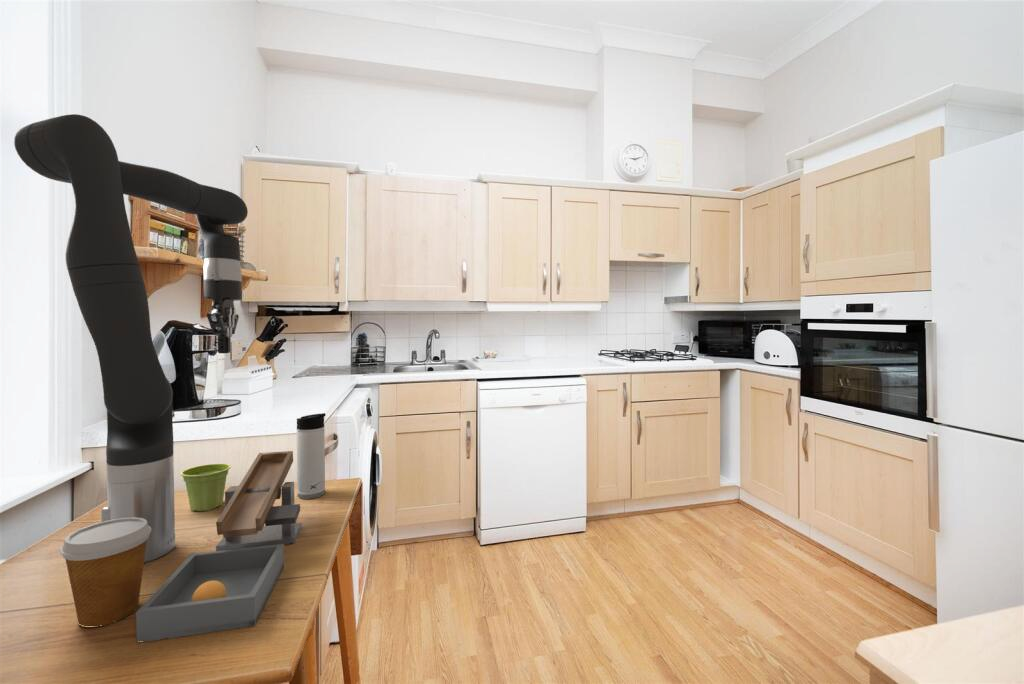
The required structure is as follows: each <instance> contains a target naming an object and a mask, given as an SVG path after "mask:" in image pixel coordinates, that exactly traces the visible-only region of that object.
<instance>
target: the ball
mask: <svg viewBox="0 0 1024 684" xmlns="http://www.w3.org/2000/svg"><path fill="white" fill-rule="evenodd" d="M224 597H226V588H225V586H224V585H223V584H222V583H221V582H219V581H208V582H205V583H203V584H202V585H200V586H199V587H198V588H197V589H196V591H195V592H194V594H193V596H192V602H194V601H201V600H209V599H217V598H224Z"/></svg>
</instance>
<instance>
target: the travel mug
mask: <svg viewBox="0 0 1024 684" xmlns="http://www.w3.org/2000/svg"><path fill="white" fill-rule="evenodd" d="M325 417H326V413H314V414H309V415H308V414H307V415H303V416H300V417H299V418H298V417H297V418H296V490H297V491H296V493H297V496H296V497H299V499H300V498H302V499H301V500H310V499H309V498H313V499H317V498H319V496H320V497H322V496H323V495H325V493H326V457H325V456H326V453H325V452H326V450H325V449H326V448H325V447H326V441H325V434H326V433H325ZM321 495H322V496H321ZM316 497H317V498H316Z"/></svg>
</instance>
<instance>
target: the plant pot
mask: <svg viewBox="0 0 1024 684" xmlns="http://www.w3.org/2000/svg"><path fill="white" fill-rule="evenodd" d="M231 467H232V466H231V464H228V463H210V464H201V465H196V466H193V467H188V468H186V469H184V470H182V471H181V472H180V476H182V480H183V481H184V484H185V487H186V491H187V496H188V504H189V509H190V510H191V511H193V512H194V511H198V512H205V511H209V510H214V509H216V508H217V507H218V506H219V505H220V506H222V505H223V504H224V498H225V491H226V490H225V489H226V483H227V482H226V481H227V476H228V475H229V470H230V469H231Z"/></svg>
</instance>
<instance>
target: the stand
mask: <svg viewBox="0 0 1024 684" xmlns="http://www.w3.org/2000/svg"><path fill="white" fill-rule="evenodd" d="M238 486H239V485H233V486H230V487H229V488H227V489H226V490H224V508H225V507H226V506H227V504H228V502H229V501H230V499H231V498H232V496H233V494H234V493H235V491H236V489H237V488H238ZM284 505H295V481H284V483H283V485H282V487H281V506H284ZM302 527H303V523H302V522H298V523H297V522H296V523H294V524H283V525H273V526H265V525H264V527H263V529H262V531H258V533H257V534H254V535H244V536H235V537H225V538H223V537H222V539H221V540H220V541H219V542H218V543H217V544H216V545H215V551H221V550H231V549H240V548H249V547H259V546H268V545H277V544H284V545H291V544H290V543H293V544H295V542H296V540H297V538H298V536H299V534H300V532H301V530H302Z"/></svg>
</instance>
